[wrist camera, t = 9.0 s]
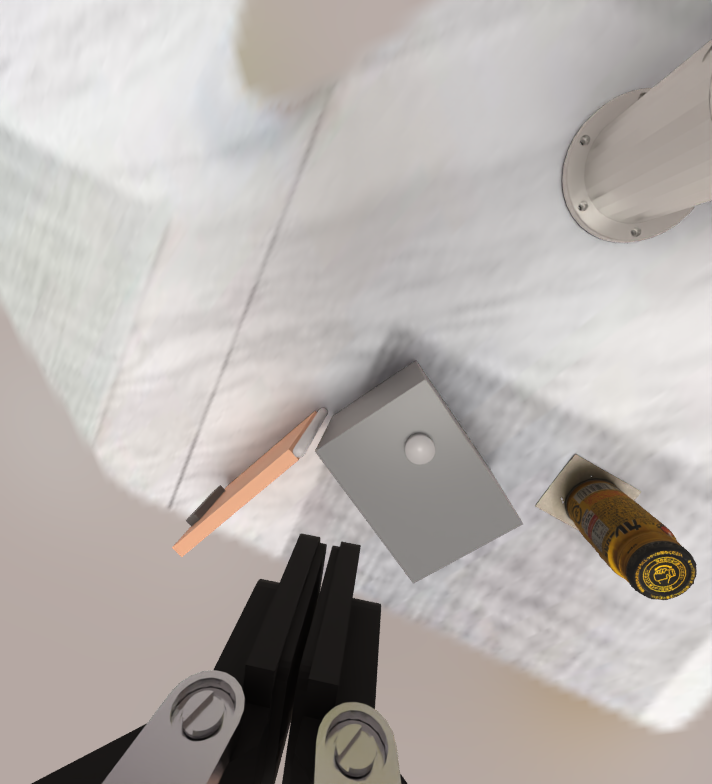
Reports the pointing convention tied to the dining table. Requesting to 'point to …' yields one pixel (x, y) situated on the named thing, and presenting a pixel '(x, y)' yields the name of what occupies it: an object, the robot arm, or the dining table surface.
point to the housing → (415, 474)
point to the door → (249, 482)
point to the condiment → (620, 529)
